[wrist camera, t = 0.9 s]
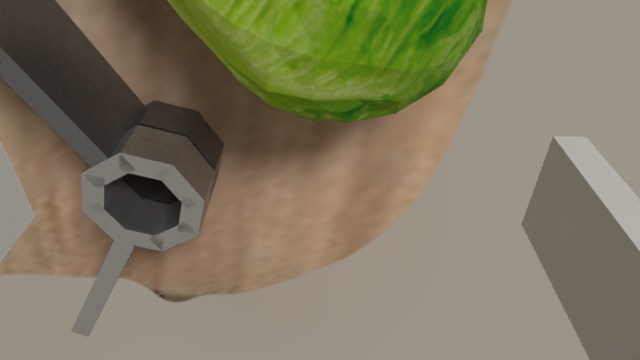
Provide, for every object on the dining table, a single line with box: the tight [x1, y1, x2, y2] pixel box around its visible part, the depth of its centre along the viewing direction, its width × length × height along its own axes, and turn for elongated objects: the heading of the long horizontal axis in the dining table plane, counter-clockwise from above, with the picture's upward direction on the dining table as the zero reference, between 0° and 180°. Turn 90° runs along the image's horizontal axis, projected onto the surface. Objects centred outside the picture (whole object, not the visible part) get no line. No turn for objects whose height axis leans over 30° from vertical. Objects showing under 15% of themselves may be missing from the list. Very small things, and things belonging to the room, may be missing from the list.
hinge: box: [0, 0, 224, 336], centre depth 38 cm, size 28×21×8 cm
